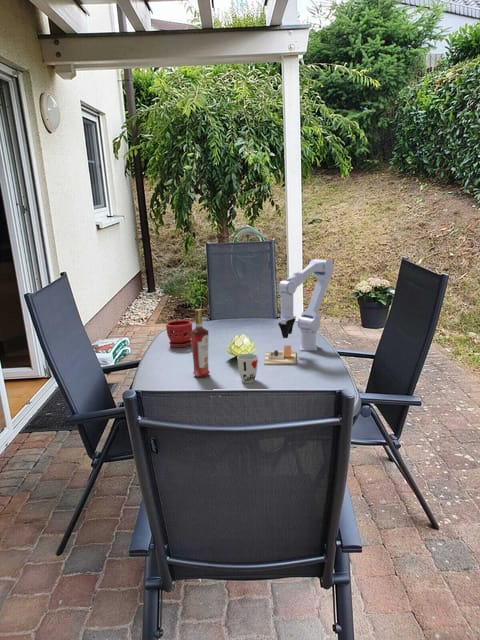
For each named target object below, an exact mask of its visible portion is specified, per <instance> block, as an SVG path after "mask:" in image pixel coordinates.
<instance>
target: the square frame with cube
mask: <svg viewBox="0 0 480 640" xmlns="http://www.w3.org/2000/svg"><path fill="white" fill-rule="evenodd" d="M283 346H284V347H283V351H284V352H278V355H282V356H271V355H274V352H270V353H269V356H268V359H284V358H291V351H292V345H289V344H288V345H287V344H286V345H283Z"/></svg>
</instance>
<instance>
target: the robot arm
mask: <svg viewBox="0 0 480 640" xmlns="http://www.w3.org/2000/svg"><path fill="white" fill-rule="evenodd" d="M334 268H335V266H334V263H333V261H332V260H331V259H325V258H324V259H321V258H319V259H318V258H313V259H312V260H310V261H309V264H308V265H307V266H306V267H304V268H303V269H302V270H301V271H295V272H293V273H292V275H290V277H287V278H286V280H284V279H283V280H281V281H280V282H279V283H278V286H277V290H278V292H279V297H280V322H277V323H278V326H279V329H280V331H281V336H282V338H283V339H288V338H289V335H292V333H293V327H294V324H295V321H296V318H297V316H296V315H294V294H295V293H296V290H297V289H298V287H299V286H301V285H302V284H303V283H304V282H305V280H306V278H308V277H309V276H311V275H312V274H313V275H314V277H315V278H316V280H317V282H316V283H315V286H314V290H313V291H312V294H311V298H310V301H309V303H308V306H307V309H306V310H304V311H303V312H301V315H300V316H299V318H298V319H297V324H296V325H297V327H298V328H299V331H300V345H299V348H300V349H299V350H300V351H315V352H317V351H318V346H317V332H318V330H319V329H320V326H321V319H322V318H321V316H320V315H319V311H320V308H321V305H322V303H323V300H324V297H325V294H326V291H327V288H328V286H329V282H330V279H331V277H332V274H333V272H334Z"/></svg>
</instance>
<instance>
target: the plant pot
mask: <svg viewBox="0 0 480 640" xmlns="http://www.w3.org/2000/svg"><path fill="white" fill-rule="evenodd" d="M165 329H166V335H167V338H168V339H169V345H170V346H171V347H173V348H185V347H189V346H190V345H192V344H191V333H190V332H191V331H192V330H193V323H192V321H191V320H172V321H169V322H166V324H165Z"/></svg>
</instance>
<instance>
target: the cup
mask: <svg viewBox="0 0 480 640" xmlns="http://www.w3.org/2000/svg"><path fill="white" fill-rule="evenodd" d="M236 358H237V367H238V373H239V376H240V379H241V382H242V383H248V384H249V383H254V382H255V381H256V377H257V371H258V361H259V360H258V359H259V356H258V355H257V354H255V353H242V354H239V355H237V357H236Z"/></svg>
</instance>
